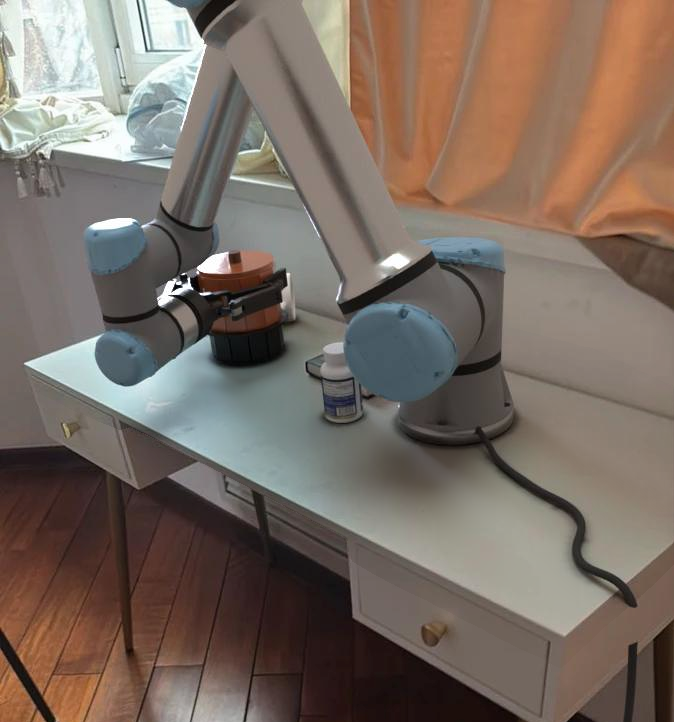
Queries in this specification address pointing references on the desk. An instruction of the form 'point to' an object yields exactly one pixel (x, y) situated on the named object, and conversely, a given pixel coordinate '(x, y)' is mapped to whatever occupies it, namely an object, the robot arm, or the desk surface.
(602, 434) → the desk surface
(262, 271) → the lidded pot
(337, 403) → the pill bottle
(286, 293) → the mug
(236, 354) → the black flanged round holder
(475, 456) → the desk surface
